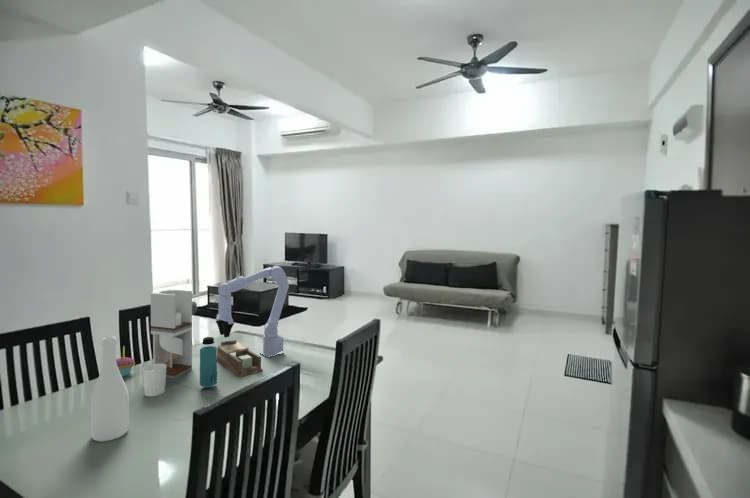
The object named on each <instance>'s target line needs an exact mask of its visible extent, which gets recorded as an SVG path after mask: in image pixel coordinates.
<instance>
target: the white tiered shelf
mask: <svg viewBox="0 0 750 498" xmlns="http://www.w3.org/2000/svg"><path fill="white" fill-rule="evenodd" d="M150 334H151V335H152V350H153V352H152V362H153V363H152V364H157V363H162V364H166V379H174V380H175V379H176V378H179V377H180V376H183V375H185V374H187V373H189V372H190V371H192V370H193V291H192V290H185V289H184V290H183V289H173V288H172V289H171V288H169V289H165V290H160V291H153V292H150Z"/></svg>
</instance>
